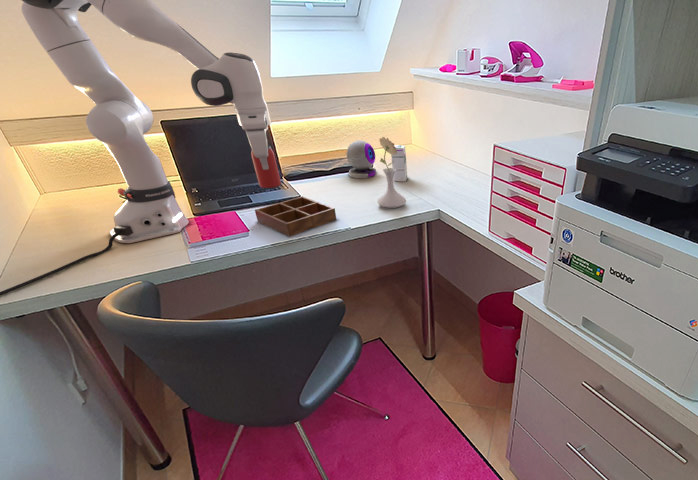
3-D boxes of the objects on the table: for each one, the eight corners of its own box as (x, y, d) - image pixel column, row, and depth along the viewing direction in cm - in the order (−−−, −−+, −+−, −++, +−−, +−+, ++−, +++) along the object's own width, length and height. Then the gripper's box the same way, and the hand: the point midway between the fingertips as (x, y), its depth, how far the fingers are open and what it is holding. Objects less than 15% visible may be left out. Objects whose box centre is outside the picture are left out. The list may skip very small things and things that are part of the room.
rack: (289, 236, 141) (286, 224, 138) (257, 222, 150) (254, 209, 148) (336, 220, 153) (334, 208, 151) (304, 207, 163) (302, 196, 160)
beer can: (274, 190, 133) (264, 150, 126) (255, 188, 134) (244, 148, 127) (285, 183, 138) (276, 145, 132) (267, 182, 140) (257, 143, 133)
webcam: (369, 179, 194) (366, 144, 186) (344, 176, 196) (339, 142, 188) (380, 171, 205) (377, 138, 196) (356, 169, 207) (352, 136, 198)
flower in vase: (411, 207, 165) (407, 140, 151) (383, 212, 161) (377, 143, 146) (398, 197, 175) (394, 133, 160) (372, 201, 170) (365, 135, 156)
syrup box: (405, 181, 193) (404, 148, 184) (393, 181, 193) (390, 147, 184) (407, 177, 197) (405, 145, 189) (394, 177, 197) (392, 144, 189)
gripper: (243, 112, 132) (255, 158, 140) (240, 124, 116) (254, 175, 124) (264, 111, 133) (275, 156, 141) (265, 123, 118) (277, 173, 126)
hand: (265, 165), depth 133 cm, fingers closed on beer can, 6 cm apart
